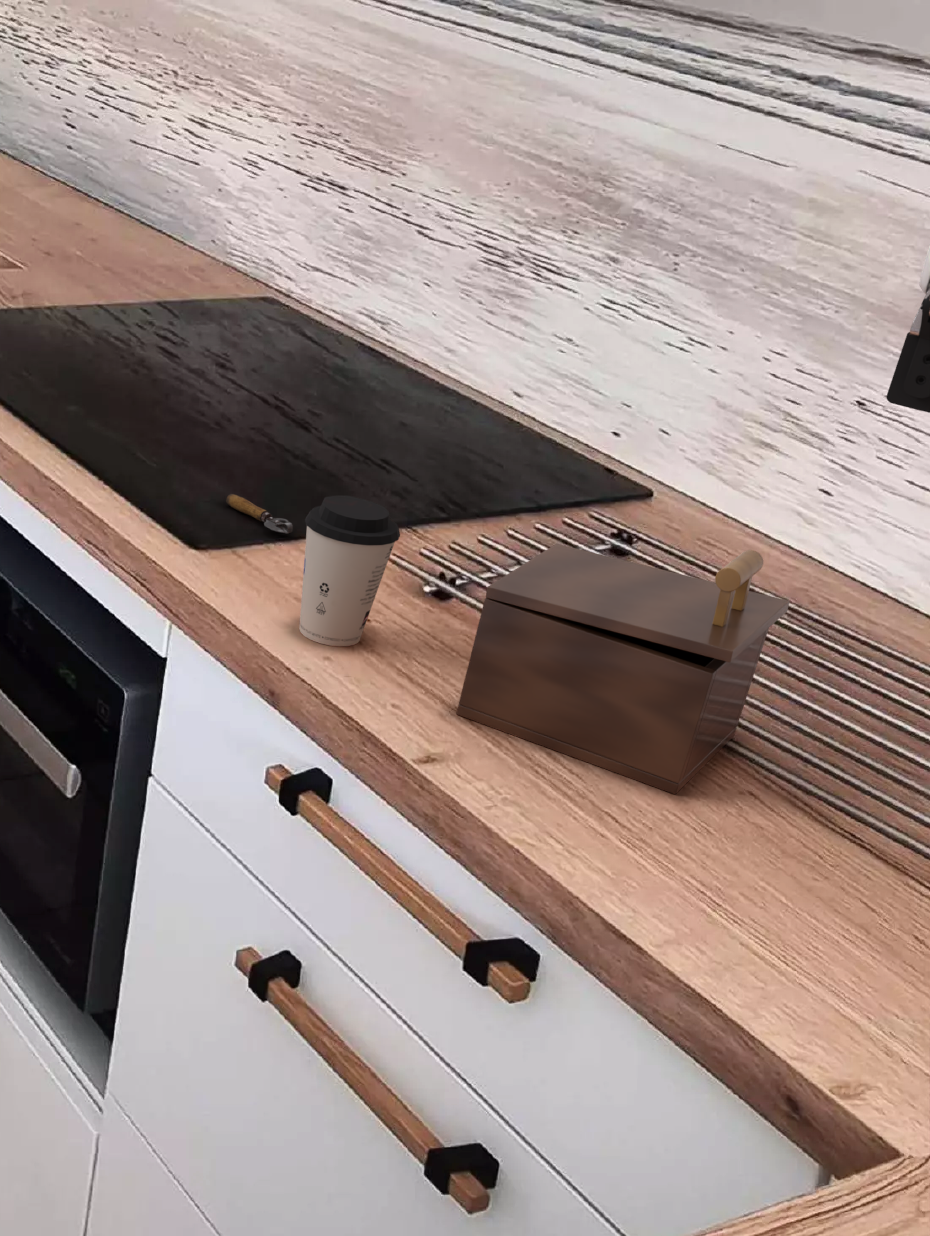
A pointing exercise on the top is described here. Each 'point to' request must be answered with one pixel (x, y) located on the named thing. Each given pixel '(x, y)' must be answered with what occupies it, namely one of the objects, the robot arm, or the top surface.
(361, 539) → the coffee cup
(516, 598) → the caddy lid
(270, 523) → the can opener
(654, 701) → the box
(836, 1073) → the top surface
